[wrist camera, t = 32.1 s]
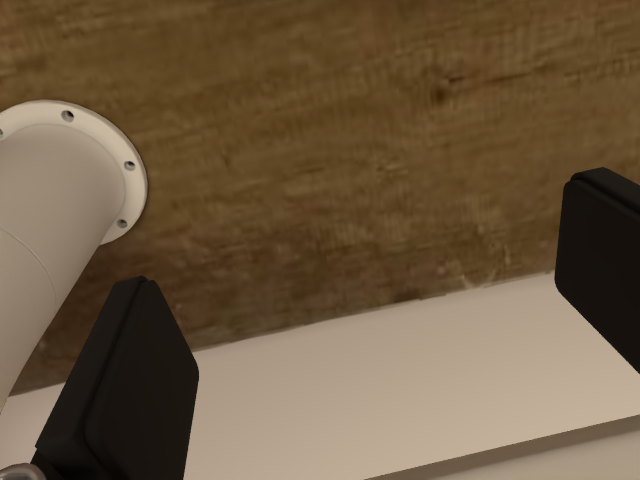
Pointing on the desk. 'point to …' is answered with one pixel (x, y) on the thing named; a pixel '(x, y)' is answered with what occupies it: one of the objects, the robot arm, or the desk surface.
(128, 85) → the desk surface
